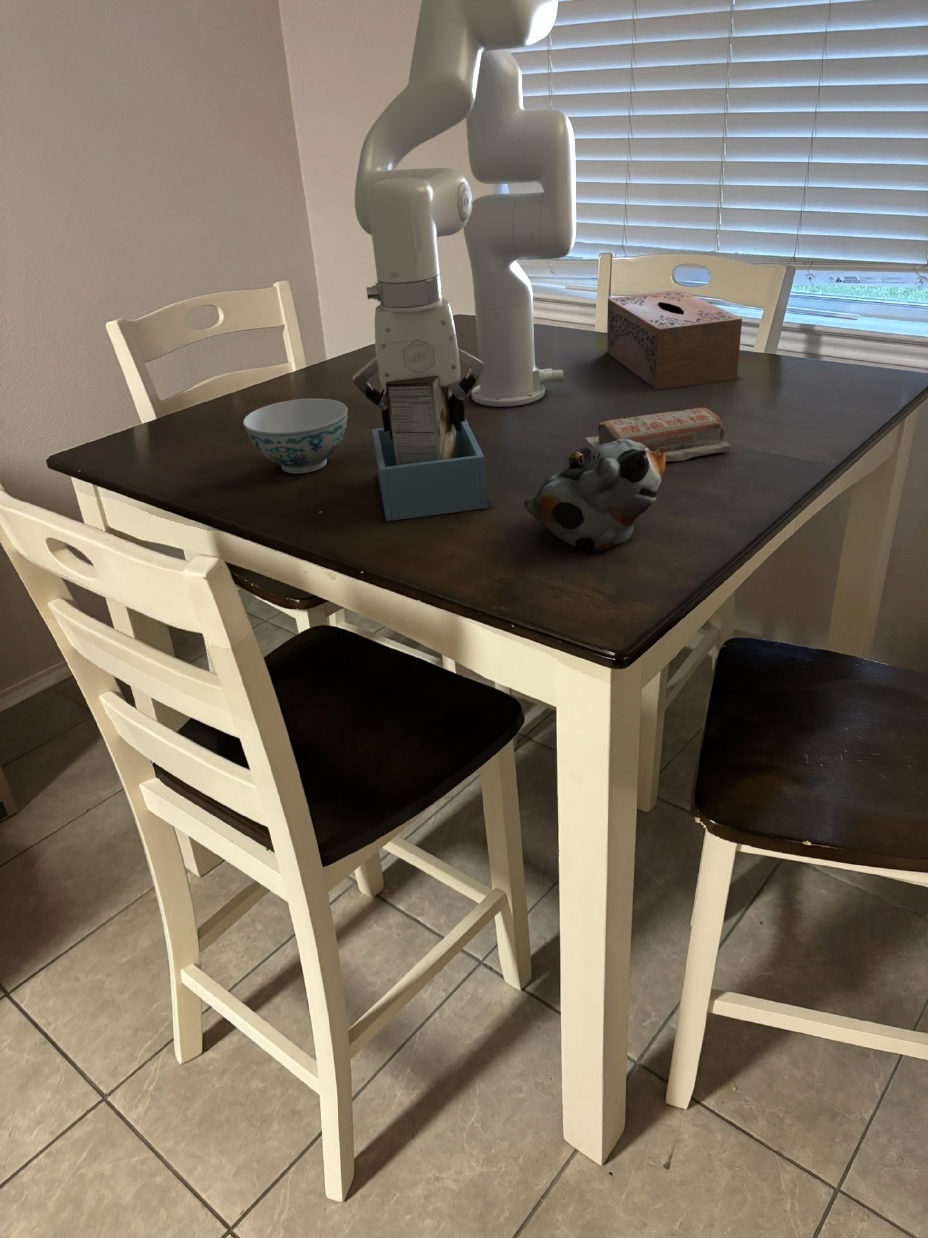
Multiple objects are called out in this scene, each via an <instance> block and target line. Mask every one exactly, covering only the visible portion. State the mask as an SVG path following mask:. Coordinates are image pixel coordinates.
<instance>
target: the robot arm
mask: <svg viewBox="0 0 928 1238" xmlns="http://www.w3.org/2000/svg"><path fill="white" fill-rule="evenodd" d="M420 3H421V4H420V9H419V15H418V19H417V27H416V32H415V37H414V45H413V52H412V56H411V62H410V69H409V76H408V83H407V85H406V87H405V88H404V89H402V91H400V92H399V94H398V95H396V96H395V98H394V99H393V100H392V101H391V102H390V103H389V104H388V105H387V106H386V107H385V108H384V110H383V111H382V112H381V114H380V115H379V116H378V118H377V119H376V120H375V121H374V122H373V124H372V125H371V127H370V128H369V130H368V131H367V134H366V136H365V138H364V140H363V143H362V147H361V150H360V155H359V161H358V166H357V172H356V178H355V187H354V210H355V216H356V220H357V221H358V224H359V226H360V227H361V229H362V230H363V231H364V232H366V234H368V235H370V236H371V239H372V248H373V249H372V250H373V256H374V263H375V273H376V282H375V283H374V285H372V286H369V287H368V286H367V287H365V288H366V297H367V299H368V300H372V299H373V300H374V301H375V300H377V302H379V304H378V305H377V306H376V307H375V311H374V344H375V345H374V346H375V347H374V348H375V356H373V358H372V359H371V360H370V361H369V362H368V363H366V364H365V365H364V366H363V367H362V368H361V369H360V370H358V371H357V372H356V373H355V374H354V375H353V376H352V381H353V384H354V386H356V387H357V388H358V390H359V391H360V392H361V393H363V395H364V396H365V398H367V399H368V400H369V401H370V402H372V403H373V404H374V405H375V406H377V407H378V408H379V409H380V410H381V418H382V426H383V427H382V428H384V432H388V431H389V433H390V437H391V440H392V439H393V435H392V428H391V420H390V412H389V405H388V397H387V390H386V383H387V382H390V381H396V380H404V379H411V378H419V377H429V376H439V379H440V386H441V387H447V386H448V387H449V389H450V390H451V391H452V396H450V398H451V409H452V420H453V425H454V427H455V430H457V431H461V422H465V418H466V412H465V402H464V401H465V399H466V397H467V395H468V393H469V392H470V391H471V392H470V393H471V399H472V400H473V401H474V402H475V403H476V404H478V405H482V406H487V407H496V408H498V407H499V408H503V407H505V408H506V407H507V408H509V407H517V406H524V405H527V404H531V403H534V402H537V401H539V400H541V399H542V398H543V397H544V396H545V394H546V389H545V388H546V387H545V385H546V383H550V382H551V383H557V382H558V383H559V382H563V381H564V372H563V369H553V368H550V367H549V368H544V369H539V368H538V367H537V365H536V360H535V357H536V355H535V331H534V329H535V328H534V327H535V326H534V300H533V299H534V298H533V297H534V295H533V287H532V284H531V282H530V279H529V277H528V276H527V274H526V273H525V271H524V270H523V268H522V267H521V265H520V264H519V263H518V262H519V261H525V260H526V261H527V260H528V261H529V260H533V261H534V260H555V259H562V258H565V257H566V256H568V255H569V254H570V253H571V251H572V250H573V248H574V245H575V241H576V234H577V233H576V232H577V204H576V203H577V202H576V201H577V197H576V195H577V193H576V192H577V191H576V190H577V189H576V145H575V136H574V130H573V127H572V124H571V121H570V119H569V117H568V116H567V115H566V114H565V113H564V112H563V111H560V110H557V109H537V110H535V109H534V110H526V109H525V108H524V101H523V100H524V99H523V76H522V71H521V68H520V66H519V64H518V62H517V60H516V59H515V57H514V55H513V54H512V52H511V51H510V49H511V50H512V49H519V48H525V47H530V46H532V45H534V44H535V43H538V42H539V41H541V40H543V39H545V38H546V37H547V36H548V35H549V33H550V32H551V30H552V29H553V26H554V24H555V21H556V18H557V12H558V3H559V1H558V0H421V2H420ZM464 120H465V122H466V138H467V152H468V153H467V154H468V161H469V162H468V163H469V167H470V171H471V174H472V176H473V178H474V179H475V180H476V181H477V182H480V183H481V184H485V185H515V184H535V183H536V184H539V185H541V187H542V190H543V191H541V192H523V193H522V192H513V193H512V192H511V193H509V192H508V193H494V194H487V195H486V194H485V195H483V196H480V197H478V198H475V199H473V192H472V189H471V186H470V183H469V181H468V180H467V178H466V177H465V176H464V175H463V174H462V173H461V172H459V171H458V170H456V169H454V168H453V169H452V168H448V167H433V168H432V167H431V168H406V169H397V166H398V165H399V164H400V163H401V161H402V160H403V159H404V158H405V157H407V155H408V154H409V153H410V152H412V151H413V150H415V148H417V147H419V146H421V145H422V144H424V143H426V142H428V141H429V140H432V139H434V138H435V137H438V136H439V135H441V134H443V133H445V132H446V131H448V130H450V129H451V128H453V127H455V126H457V125H458V124H460V123H461V122H462V121H464ZM462 229H463V237H464V240H465V244H466V249H467V250H466V251H467V253H468V258H469V263H470V269H471V278H472V289H473V303H474V316H475V330H476V331H475V332H476V345H477V348H476V349H477V356H474V355H472V354H471V353H470V352H467V351H466V350H464V349H462V348H460V347H459V346H458V340H457V333H456V326H455V321H454V317H453V312H452V308H451V305H450V302H449V300H448V299H446V298H443V295H442V293H443V292H442V282H441V273H440V272H441V271H440V263H439V253H438V252H439V251H438V239H437V238H441V237H449V236H452V235H455V234H457V233H459V232H460V231H461V230H462ZM517 261H518V262H517ZM461 363H462V364H464V365H466V366H468V367H469V369H468V372H467V374H465V375H464V377H463V378H462V379H461ZM376 373H377V374H378V380H379V383H380V386H381V390H380V392H379V391H378V390H377V389H376V388H374V386H372V385H371V384H370V383H369V382H368V380H369V379H370V378H372V377H373V376H374V375H375V374H376ZM460 379H461V381H460ZM478 379H479V384H478V385H476V383H477V380H478ZM475 385H476V386H475ZM474 386H475V387H474Z"/></svg>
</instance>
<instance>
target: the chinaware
mask: <svg viewBox="0 0 928 1238" xmlns="http://www.w3.org/2000/svg"><path fill="white" fill-rule="evenodd" d="M348 415H349V411H348V407H347V405H346V404H344V403H343V402H341V401H338V400H335V399H330V398H298V399H290V400H285V401H284V400H283V401H279V402H275V403H272V404H268V405H265V406H262V407H260V408H257V409H255V410H253V411H252V412H249V414H247V415H245V417H244V419H243V421H242V425H243V427H244V430H245V432H246V434H247V436H248V439H250V441H251V443H252V445H253V446H254V447H255V449H257V451H259V453H260V454H261V455H263V456H264V457H265V458H267V459H268V460H270V461H271V462H273V463H275V464H277V465H279V466H281V469H282V471H284V472H285V473H289V474H306V473H312V472H315V471H318V470H320V469H322V468H324V467H325V466H326V465H327V464H328V458H329V457H330V456H332V455H333V453H334V452H335V451H336V450H337V449H338V448H339V445H340V444H341V442H342V441H343V439H344V435H345V433H346V428H347V424H348Z"/></svg>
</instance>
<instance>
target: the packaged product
mask: <svg viewBox="0 0 928 1238" xmlns="http://www.w3.org/2000/svg"><path fill="white" fill-rule="evenodd" d="M725 433H726V431H725V428H724V427H723V424H722V421H721V419H720V416H719V415H717V414H716V413H714V412H713V411H712V410H710V409H709V408H707V407H695V408H688V409H679V410H674V411H665V412H659V413H652V414H644V415H637V416H631V417H622V418H616V419H610V420H605V421H601V422H600V423H598V435H596V436H588V437H585V444H586V448H587V449H588V450H589V451H590V453H591V452H592V451H593V450H595V449H597V447H599V446H600V445H602V444H605V443H610V442H613V441H617V440H618V439H628V440H632V441H634V442H639V443H642V444H643V445H645V446H646V447H647V448H648V449H649V450H651V451H652V452H654V451H655V450H657V449H659V448H660V447H666V452H665V453H664V456H665V461H666V462H683V461H687V460H689V459H692V458H696V457H697V458H698V457H703V456H708V455H710V456H711V455H716V454H722V453H728V452H730V451H731V449H732V445H731V444H729V443H728V442H727V441H726V440H724V438H725Z"/></svg>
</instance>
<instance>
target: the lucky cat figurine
mask: <svg viewBox="0 0 928 1238" xmlns="http://www.w3.org/2000/svg"><path fill="white" fill-rule="evenodd" d="M665 452H666V447H660V448H659V449H657V450H655V451H654V452H652V451H651V450H649V449H648V448H647V447H646V446H645V445H643V444H642V443H639V442H634V441H632V440H628V439H618V440H617V441H613V442H610V443H605V444H602V445H600V446H599V447H597V449H595V450H593V451H592V452H591V451H590V454H589V455H588V456H587V458H586V461H585V456H584V454H583V453H581V452H579V451H575V452H574V453H572V454H571V455H570V456H569V458H568V464H569V466H568V467H567V468H565V469H563V470H562V471H559V472H555V473H553V474H551V475H550V476H549V477H548V478H546V479H545V480H544V482H543V483H542V485H541V487H540V488H539V490H538V492H537V494H536V495H535V496H534V497H530V498H528V499H526V500H524V503H523V504H524V508H525V509H526V511H527V512H528V513H529V514H530V515H531V516H533V518H535V519H536V520H537V521H538V522H540V523H541V524H542V525H543V526H545V527H546V528H547V529H548V530H549V531H550V532H551V533H552V534H553V535H555V536H556V537H558V538H559V539H561V540H563V541H564V542H565V543H567V544H569V545H571V546H573V547H577V548H578V547H581V546H586V548H587V549H588V551H589V552H590V553H591V552H594V553H599V552H601V551H604V550H606V549H609V548H612V547H614V546H617V545H620V544H623V543H625V542H627V541H629V539H630V538H631V536H632V534H633V533H634V524H635V521H636V520H637V518H638V517H639V516H641V514H642V513H644V512H647V511H648V509H649V508H650V507H651V506H652V505H653V504H654V503H655V502H656V501H657V491H658V489H659V487H660V485H661V483H662V477H663V475H664V473H665V470H666V462H667V461H665V456H664V453H665Z"/></svg>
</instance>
